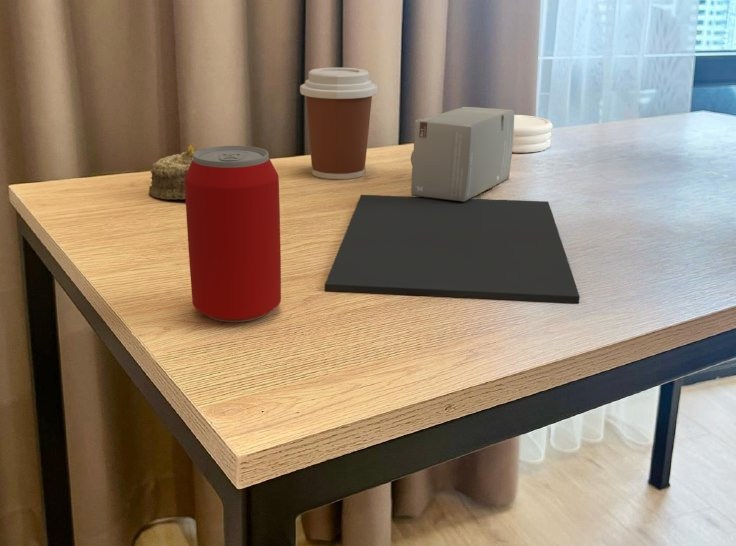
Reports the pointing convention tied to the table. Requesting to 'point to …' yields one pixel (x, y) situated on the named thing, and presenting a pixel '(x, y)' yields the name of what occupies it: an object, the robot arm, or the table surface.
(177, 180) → the cake
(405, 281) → the mat
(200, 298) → the beverage can
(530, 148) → the white round stack
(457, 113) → the cosmetic box
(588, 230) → the table surface
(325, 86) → the coffee cup
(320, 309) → the table surface
